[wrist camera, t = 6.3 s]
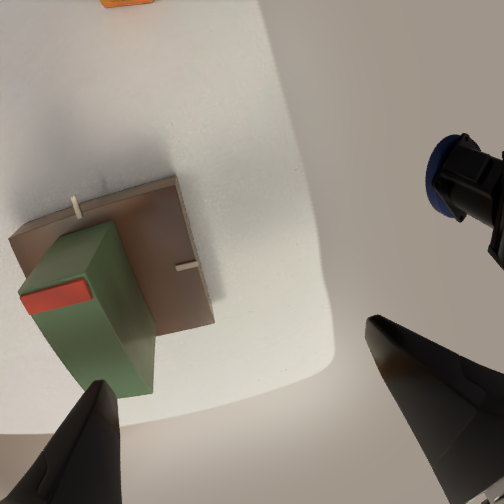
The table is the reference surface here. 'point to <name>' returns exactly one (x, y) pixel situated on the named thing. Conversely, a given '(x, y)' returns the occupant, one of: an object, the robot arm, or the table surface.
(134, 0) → the supplement box
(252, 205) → the table surface
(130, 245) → the brown rectangular platform
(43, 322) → the green box
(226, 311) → the table surface
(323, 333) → the table surface
